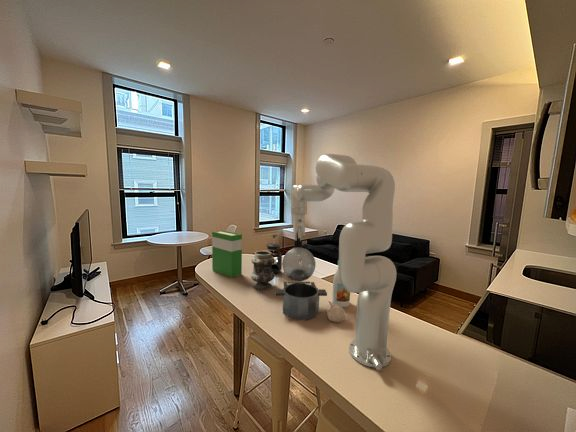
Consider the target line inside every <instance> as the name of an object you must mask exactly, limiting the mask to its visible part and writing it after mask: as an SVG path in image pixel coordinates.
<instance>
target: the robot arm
mask: <svg viewBox="0 0 576 432" xmlns="http://www.w3.org/2000/svg"><path fill="white" fill-rule="evenodd" d="M315 173H316V183H317V184H294V185H292V187H291V199H290V200H291V201H290V202H291V203H290V205H291V206H290V214H291V215H293V216H292V217H293V219H292V222H293V223H292V225H293V226H292V229H293V231H292V232H293V234H294V245H293V248H298V247H300V248H302V236H305V235H306V215H307V214H308V211H307V210H308V203H309V202H323V201H325V200H327V199H329V198H331V197H332V196H333V194H334V193H335V190H337V191H339V192H343V193H344V192H345V193H367V196H366V197H365V200H364V202H363V205H362V209H361V210H362V211H361V213H362V216H361V217H362V218H361V220H360V221H358V220H357V221H352V222H351V221H350V222H348V223H347V224H346V225H344V226H343V227H342V229H341V231H340V234H339V238H338V239H339V241H338V243H339V244H338V260H339V277H340V282H341V284H342V286H343V288H344V289H345V290H346V291H348V292H350V294H352V293H353V294H358V296H357V303H356V317H355V330H354V331H355V332H354V339H353V340H352V341H351V342H350V343H349V346H348V351H349V353H350V355H351V357H352V358H353V359H354V360H355V361H356V362H358V363H360V364H362V365H363V366H365V367H368V368H374V369H375V370H377V371H381V370H382V369H383V368H384V367H387V366H389V365H390V363H391V362H392V354H391V351H390V350H389V348H388V346H387V345H388V332H389V323H390V311H391V301H392V295H393V291H394V287H395V284H396V281H397V268H396V266H395V263H394V262H393V261H392V260H391V259H390V258H388V257H386V256H382V255H370V256H366V255H367V254H374V253H381V252H385V251H388V250H389V249H390V248H391V245H392V243H393V242H392V241H393V217H394V216H393V208H394V199H395V191H396V183H395V179H394V176H393V174H392V172H390V171H389V170H388V169H386V168H384V167H381V166H377V165H371V164H358V163H357V161H356V160H355V159H354V158H353V157H352V156H349V155H345V154H335V153H324V154H322V155H321V156H320V157H318V160H317V161H316V164H315Z"/></svg>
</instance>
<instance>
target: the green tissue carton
mask: <svg viewBox="0 0 576 432" xmlns="http://www.w3.org/2000/svg"><path fill="white" fill-rule="evenodd" d="M211 237H212V238H211V242H212V243H211V248H212V249H211V250H212V252H211V253H212V254H211V255H212V256H211V258H212V259H211V260H212V261H211V262H212V266H211V267H212V270H213V271H212V272H215V271H216V272H215V273H217V272H219V273H218V274H220V273H221V274H220V275H223V274H224V275H223V276H225V275H227V276H226V277H228V276H229V277H228V278H231V277H233V278H235V277H234V276H236V277H237V275H238V276H241V275H242V271H243V268H242V266H243V265H242V262H243V261H242V260H243V258H242V257H243V254H242V252H243V244H242V243H243V234H242V233H239V232H233V231H229V230H225V229H222V230H220V231H218V232H217V231H212V232H211ZM240 274H241V275H240Z"/></svg>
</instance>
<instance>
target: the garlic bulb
mask: <svg viewBox="0 0 576 432" xmlns="http://www.w3.org/2000/svg"><path fill="white" fill-rule="evenodd" d="M328 303H329V306H327V309H326V310H327V311H326V317H327V319H328V320H329V321H331V322H334V323H339V322H342V321H344V319H345V315H346V314H345V313H346V312H345V310H344V307H340V306H338V305H336V304H333V303H332V301H328Z"/></svg>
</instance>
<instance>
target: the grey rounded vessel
mask: <svg viewBox="0 0 576 432" xmlns="http://www.w3.org/2000/svg"><path fill="white" fill-rule="evenodd" d="M269 251H270V250H269ZM269 251H268V250H259V251H258V250H257V251H255V253H254V255H253V256H252V257H251V263H252V264H253V269H252V272H251V274H250V278H251V280H252V281H254V283H253V285H252V287H253V289H254V290H257V291H267V290H270V289H272V287H273V285H272V283H271V282H272V281H273V280H274V278H275V275H274V273H273V272H272V264H273V263H274V260H275V257H274V258H273V257H272V255H273V254H272V253H271V252H269Z"/></svg>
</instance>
